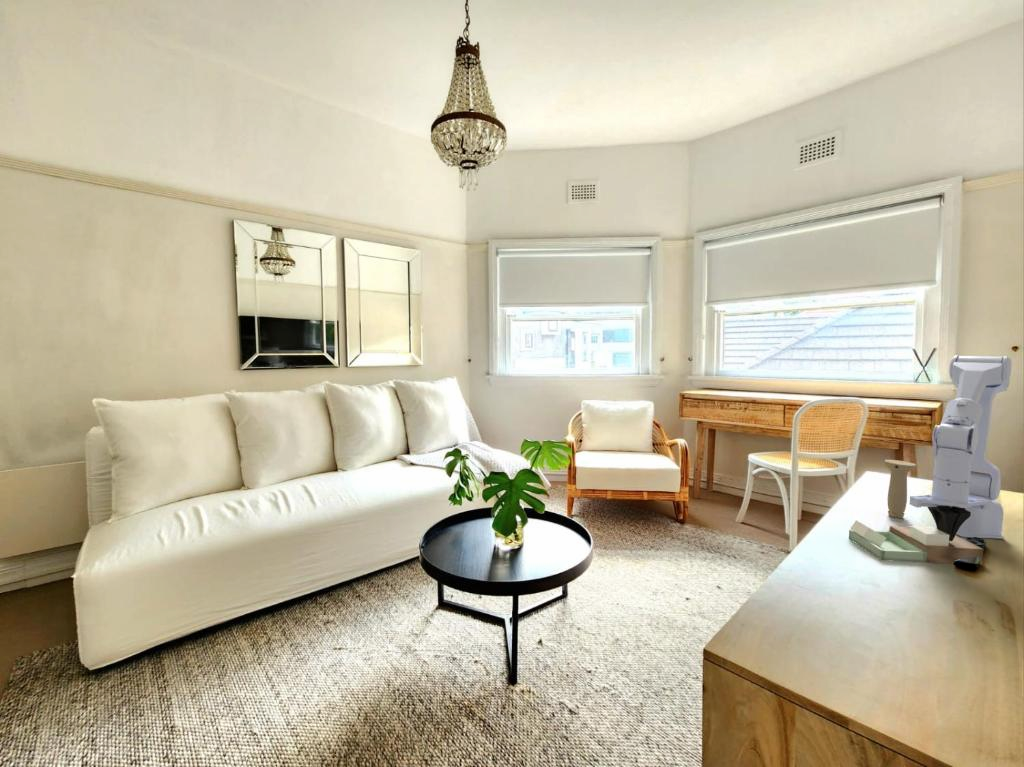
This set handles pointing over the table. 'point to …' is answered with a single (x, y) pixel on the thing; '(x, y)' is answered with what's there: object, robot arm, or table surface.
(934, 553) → the board
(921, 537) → the tile
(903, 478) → the handle
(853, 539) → the tray
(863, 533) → the tile
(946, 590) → the table surface
